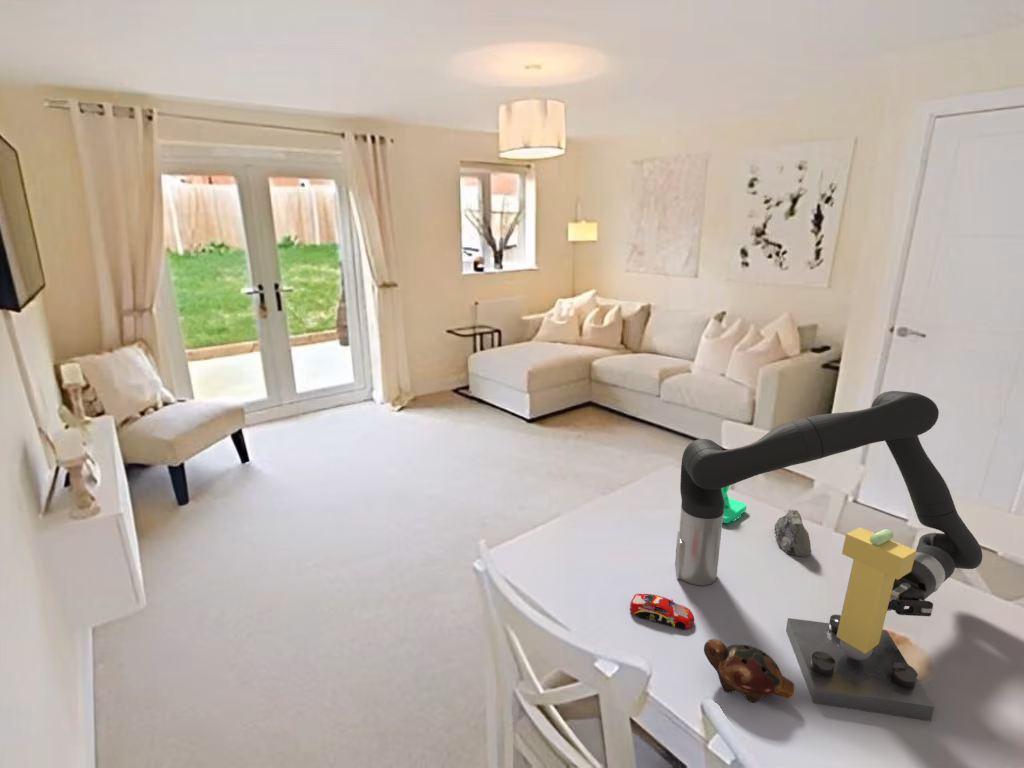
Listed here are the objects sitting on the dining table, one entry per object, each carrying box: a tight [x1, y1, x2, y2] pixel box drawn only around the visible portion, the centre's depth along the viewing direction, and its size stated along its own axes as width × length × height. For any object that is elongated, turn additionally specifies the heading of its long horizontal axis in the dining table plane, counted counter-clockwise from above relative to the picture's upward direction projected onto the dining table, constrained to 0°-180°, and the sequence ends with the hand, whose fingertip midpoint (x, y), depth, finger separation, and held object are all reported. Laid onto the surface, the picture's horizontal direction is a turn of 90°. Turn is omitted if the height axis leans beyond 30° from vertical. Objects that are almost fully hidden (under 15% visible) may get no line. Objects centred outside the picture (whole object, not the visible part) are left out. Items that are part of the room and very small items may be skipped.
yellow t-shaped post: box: [836, 526, 916, 660], centre depth 97 cm, size 5×9×25 cm, turn 33°
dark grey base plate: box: [785, 614, 935, 722], centre depth 100 cm, size 18×18×5 cm
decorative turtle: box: [703, 638, 795, 704], centre depth 96 cm, size 10×15×8 cm, turn 68°
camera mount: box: [721, 485, 747, 524], centre depth 155 cm, size 12×8×10 cm, turn 131°
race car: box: [629, 593, 695, 631], centre depth 115 cm, size 13×5×4 cm, turn 65°
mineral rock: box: [773, 509, 812, 557], centre depth 140 cm, size 13×11×10 cm
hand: (871, 609), depth 99 cm, fingers closed
